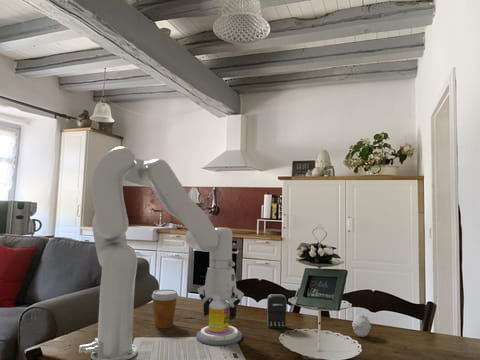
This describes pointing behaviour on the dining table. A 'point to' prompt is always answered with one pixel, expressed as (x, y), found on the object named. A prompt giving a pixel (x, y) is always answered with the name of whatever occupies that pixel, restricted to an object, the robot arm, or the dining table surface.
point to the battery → (276, 311)
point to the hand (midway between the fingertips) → (219, 316)
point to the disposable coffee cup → (164, 307)
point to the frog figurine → (361, 325)
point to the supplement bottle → (218, 317)
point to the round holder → (219, 337)
